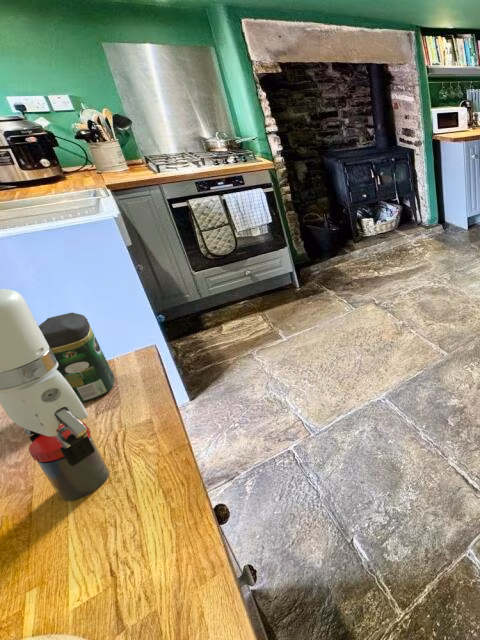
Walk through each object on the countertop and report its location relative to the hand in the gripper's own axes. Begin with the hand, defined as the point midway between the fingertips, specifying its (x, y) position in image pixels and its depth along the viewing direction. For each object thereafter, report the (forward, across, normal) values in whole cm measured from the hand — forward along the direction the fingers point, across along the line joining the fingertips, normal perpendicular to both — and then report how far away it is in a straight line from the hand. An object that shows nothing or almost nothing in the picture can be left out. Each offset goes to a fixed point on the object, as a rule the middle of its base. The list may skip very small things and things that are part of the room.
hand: (67, 452), depth 68 cm
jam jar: (+8, 0, 0) cm, 8 cm away
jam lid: (-3, 0, 0) cm, 3 cm away
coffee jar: (+8, +26, -16) cm, 31 cm away
